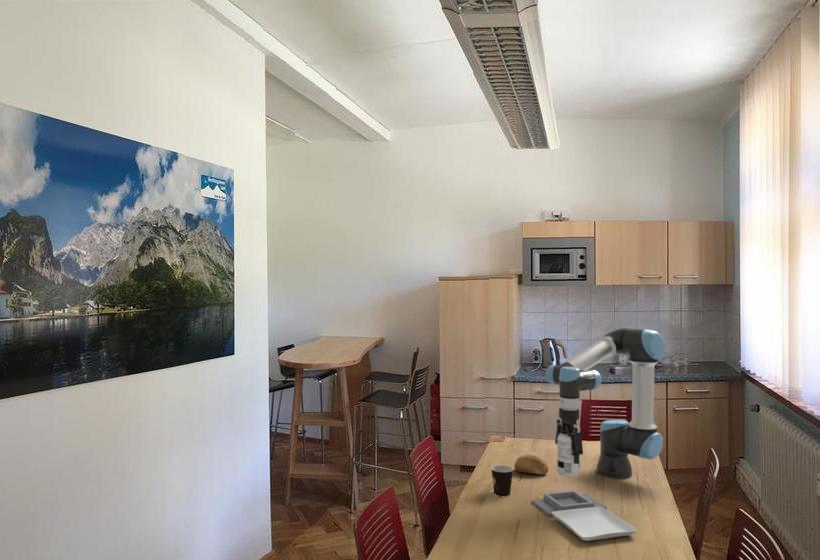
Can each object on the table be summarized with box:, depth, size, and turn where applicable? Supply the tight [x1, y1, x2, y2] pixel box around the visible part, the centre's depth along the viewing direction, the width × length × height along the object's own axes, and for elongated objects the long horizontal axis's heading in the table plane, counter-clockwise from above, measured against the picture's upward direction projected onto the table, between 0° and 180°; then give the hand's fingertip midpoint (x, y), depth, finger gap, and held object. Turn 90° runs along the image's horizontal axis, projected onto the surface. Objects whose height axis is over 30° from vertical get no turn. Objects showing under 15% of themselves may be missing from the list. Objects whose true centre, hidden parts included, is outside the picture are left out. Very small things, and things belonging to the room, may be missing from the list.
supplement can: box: [556, 433, 581, 478], centre depth 226 cm, size 8×8×15 cm
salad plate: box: [551, 507, 638, 542], centre depth 207 cm, size 21×21×3 cm
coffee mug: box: [490, 464, 514, 497], centre depth 241 cm, size 12×9×10 cm
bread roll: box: [514, 454, 549, 476], centre depth 264 cm, size 10×15×8 cm, turn 64°
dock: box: [530, 489, 608, 518], centre depth 227 cm, size 24×14×3 cm, turn 107°
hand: (568, 467), depth 226 cm, fingers closed on supplement can, 8 cm apart
